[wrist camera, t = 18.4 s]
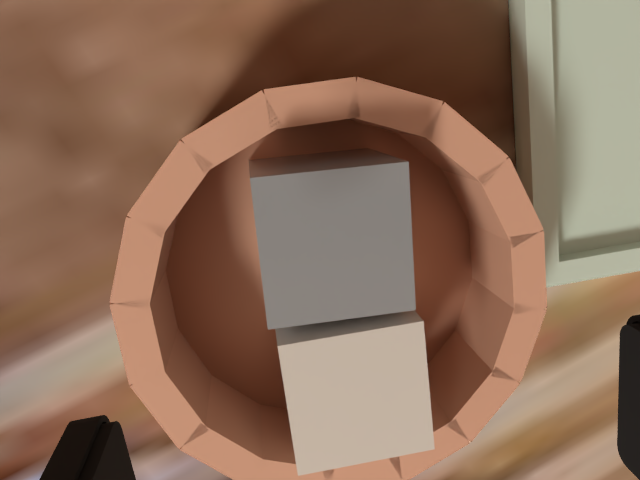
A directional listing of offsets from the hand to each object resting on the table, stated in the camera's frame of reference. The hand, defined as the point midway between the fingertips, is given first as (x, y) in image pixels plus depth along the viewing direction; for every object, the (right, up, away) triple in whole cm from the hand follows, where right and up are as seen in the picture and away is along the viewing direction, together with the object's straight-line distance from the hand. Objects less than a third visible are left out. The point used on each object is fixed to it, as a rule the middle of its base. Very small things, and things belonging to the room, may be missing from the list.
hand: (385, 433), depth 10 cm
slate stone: (-1, +5, +11) cm, 12 cm away
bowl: (-1, +2, +13) cm, 13 cm away
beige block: (-1, 0, +12) cm, 13 cm away
